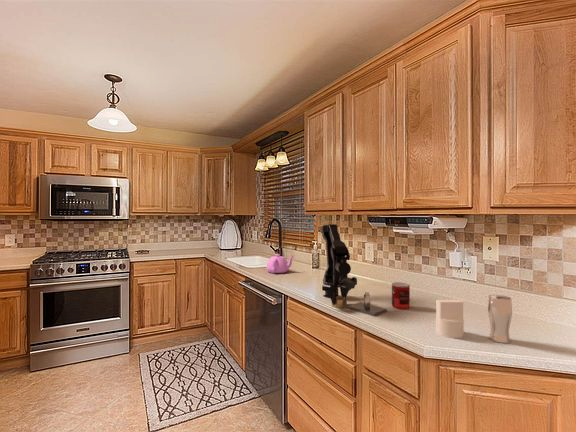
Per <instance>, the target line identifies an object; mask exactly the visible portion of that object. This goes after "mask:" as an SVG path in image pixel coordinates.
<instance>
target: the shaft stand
mask: <svg viewBox="0 0 576 432" xmlns="http://www.w3.org/2000/svg"><path fill="white" fill-rule="evenodd" d="M347 310H351V311H355V312H358V313H362V314H366V315H369V316H373V317H376V316H379V315H381V314H383V313H386V312H388V311H387V308H385V307H380V306H378V305H373V304H371V294H370V292H367V291H366V292H365V293H364V294H363V302H362V301H360V302H357V303H354V304H350V305H347Z"/></svg>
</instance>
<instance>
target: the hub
mask: <svg viewBox="0 0 576 432" xmlns="http://www.w3.org/2000/svg"><path fill="white" fill-rule="evenodd" d="M347 299H348V298H347V297H342V296H341V295H340V296H336V303H335V305H333V303H332V302H331V307H333V308H338V309H343V308H348V300H347Z"/></svg>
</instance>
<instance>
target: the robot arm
mask: <svg viewBox="0 0 576 432" xmlns="http://www.w3.org/2000/svg"><path fill="white" fill-rule="evenodd" d="M320 233H321V236H322V239H324V241H325V251H326V252H325V253H326V265H327V267H326V269H325V270H324V271H325V272H324V275H323V278H322V284H323V285H322V286H321V291H324V294H323V297H325V298H329V299H330V301H331V304H332V303H333V305H335V303H336V296H342V297H346V298H347V296H348V294H349V291H350V290H352V289H355V287H356V286H357V285H358V278H357V277H356V276H353V277H352V276H351V277H349V276H348V274H350V273H351V271H352V267H351V265H350V264H349V262H348V261H350V257H351V255H350V252H349V251H350V250H349V249H348V247H347V246H346V244H345V242H343V241H342V239H341V236H340V233H339V229H338V224H336V223H333V224H332V223H328V224H323V225H322V226H321V228H320ZM339 290H340V291H339ZM339 292H340V295H339Z"/></svg>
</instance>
